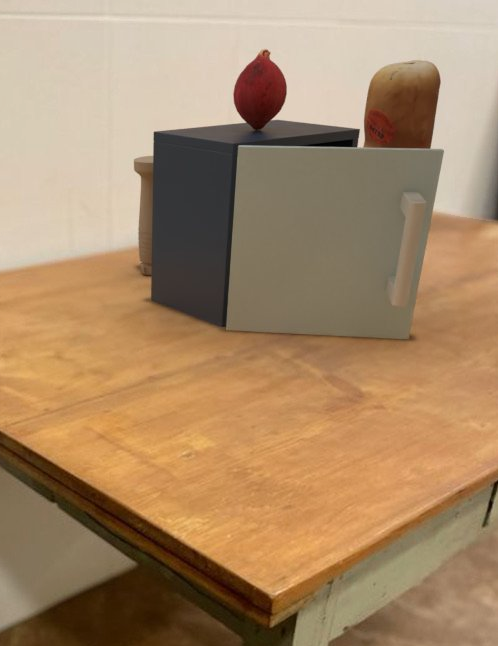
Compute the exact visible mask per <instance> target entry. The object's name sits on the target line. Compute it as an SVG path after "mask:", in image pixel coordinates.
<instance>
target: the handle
mask: <svg viewBox="0 0 498 646" xmlns="http://www.w3.org/2000/svg"><path fill="white" fill-rule="evenodd" d="M133 171H134V172H135V173H137V174H138V175H139V176H140V195H139V196H140V197H139V212H138V213H139V215H138V229H137V230H138V231H137V232H138V233H137V234H138V256H139V261H140V264H139V266H140V272H141V273H142V275H144V276H151V269H152V205H153V155H145V156H139V157H136V158H134V159H133Z"/></svg>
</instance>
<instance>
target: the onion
mask: <svg viewBox="0 0 498 646" xmlns="http://www.w3.org/2000/svg"><path fill="white" fill-rule="evenodd" d="M270 56H271V51H269V49H267V48H262V49H261V50H260V51H259V52H258V54H257V55H256V57H255V58H254V59H253V60H252V61H251V62H249V63H248V64H247V65H246V66H245V67H244V69H243V70H242V71H241V72H240V74H239V75H238V77H237V78H236V81H235V84H234V88H233V104H234V107H235V110H236V112H237V113H238V114H239V116H240V118H241V119H242V120H243V121H244V123H248V124H249V125H250V126H251V127H252V128H253V129H255V130H260V129H262V128H263V127H265V125H266V124H267V123H268V122H269V121H270V120H274V118H276V116H277V115H278V114H279V113H280V112H281V110H282V108H283V107H284V105H285V103H286V99H287V94H288V93H287V92H288V86H287V81H286V78H285V75H284V73H283V71H282V70H281V68H280V67H279V66H278V65H277V63H275V62H274V61H272V59H271V58H270Z"/></svg>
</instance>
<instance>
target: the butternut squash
mask: <svg viewBox="0 0 498 646" xmlns="http://www.w3.org/2000/svg"><path fill="white" fill-rule="evenodd" d="M440 74H441V73H440V70H439V69H438V67H437V66H436V65H435V64H434V63H433V62H431V61H429V60H421V59H416V60H415V59H414V60H409V61H401V62H400V61H399V62H395V63H390V64H387V65H384V66H383V67H381V68H379V70H377V71H376V72H375V73H374V75H373V76H372V77H371V79H370V82H369V84H368V85H369V86H368V89H367V90H368V91H367V95H366V101H365V108H364V114H363V115H364V116H363V132H364V142H363V148H419V149H432V148H431V147H432V141H433V137H434V136H433V135H434V131H435V123H436V122H435V121H436V114H437V107H438V102H439V95H440V90H441V89H440V88H441V75H440Z"/></svg>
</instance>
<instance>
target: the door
mask: <svg viewBox="0 0 498 646" xmlns="http://www.w3.org/2000/svg"><path fill="white" fill-rule="evenodd" d="M444 154H445V150H444V149H443V148H431V149H419V148H363V147H361V146H360V147H308V146H253V145H239V146H238V158H237V173H236V188H235V203H234V218H233V233H232V249H231V264H230V279H229V294H228V309H227V324H226V326H225V330H226V331H235V332H252V333H253V332H256V333H272V334H273V333H274V334H275V333H276V334H294V335H315V336H333V337H334V336H336V337H354V338H374V339H375V338H376V339H394V340H409V339H410V333H411V328H412V322H413V318H414V317H413V316H414V312H415V307H416V303H417V302H416V301H417V296H418V291H419V286H420V280H421V276H422V270H423V265H424V259H425V254H426V250H427V244H428V238H429V233H430V227H431V223H432V217H433V213H434V212H433V211H434V207H435V201H436V196H437V190H438V186H439V181H440V175H441V171H442V170H441V169H442V164H443V159H444Z"/></svg>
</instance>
